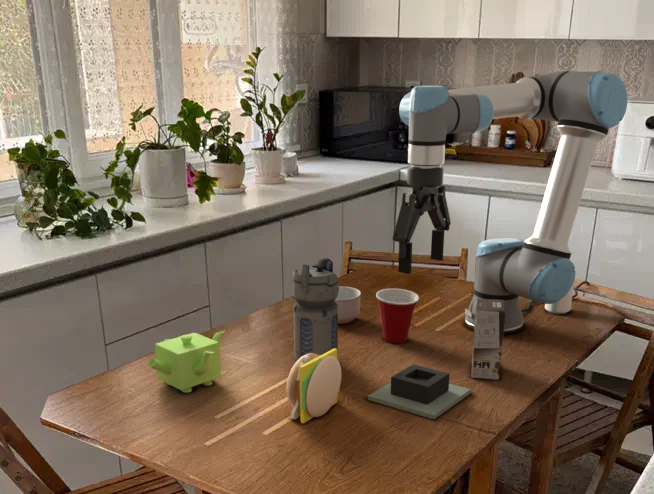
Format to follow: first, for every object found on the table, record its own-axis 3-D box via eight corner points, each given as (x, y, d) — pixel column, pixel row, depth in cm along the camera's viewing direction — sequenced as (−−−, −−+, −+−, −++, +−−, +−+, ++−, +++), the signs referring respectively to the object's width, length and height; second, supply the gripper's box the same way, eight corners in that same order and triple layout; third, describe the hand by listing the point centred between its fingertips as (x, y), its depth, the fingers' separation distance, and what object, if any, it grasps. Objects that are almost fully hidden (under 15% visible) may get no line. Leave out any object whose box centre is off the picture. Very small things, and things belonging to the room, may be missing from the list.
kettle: (227, 370, 180) (224, 324, 176) (221, 396, 167) (218, 347, 163) (162, 371, 180) (157, 325, 175) (150, 397, 167) (145, 347, 162)
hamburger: (313, 395, 167) (313, 343, 162) (346, 405, 163) (346, 351, 158) (279, 416, 158) (277, 360, 153) (312, 426, 154) (312, 369, 149)
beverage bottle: (348, 357, 188) (349, 255, 178) (324, 377, 177) (324, 269, 167) (311, 351, 192) (310, 250, 182) (285, 369, 181) (282, 264, 171)
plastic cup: (396, 350, 192) (398, 303, 188) (366, 339, 200) (366, 293, 195) (426, 340, 199) (428, 294, 194) (395, 329, 206) (397, 285, 202)
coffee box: (499, 380, 175) (506, 311, 168) (470, 378, 176) (475, 309, 170) (499, 365, 183) (505, 299, 177) (471, 363, 184) (477, 297, 178)
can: (550, 305, 225) (554, 264, 220) (573, 309, 221) (579, 268, 217) (540, 311, 220) (545, 270, 215) (564, 316, 216) (570, 274, 211)
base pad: (407, 376, 177) (407, 362, 176) (470, 393, 168) (472, 378, 167) (367, 399, 165) (367, 384, 164) (433, 419, 157) (434, 403, 155)
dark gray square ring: (412, 380, 172) (413, 364, 171) (448, 390, 167) (449, 373, 166) (390, 394, 165) (390, 376, 164) (427, 404, 161) (428, 387, 159)
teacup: (367, 318, 215) (368, 290, 212) (347, 329, 207) (347, 300, 204) (325, 309, 222) (325, 282, 219) (303, 320, 214) (303, 292, 210)
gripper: (439, 157, 173) (434, 252, 181) (377, 171, 155) (375, 275, 163) (470, 160, 169) (463, 256, 177) (409, 174, 151) (405, 281, 159)
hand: (421, 266), depth 170 cm, fingers open, 13 cm apart
